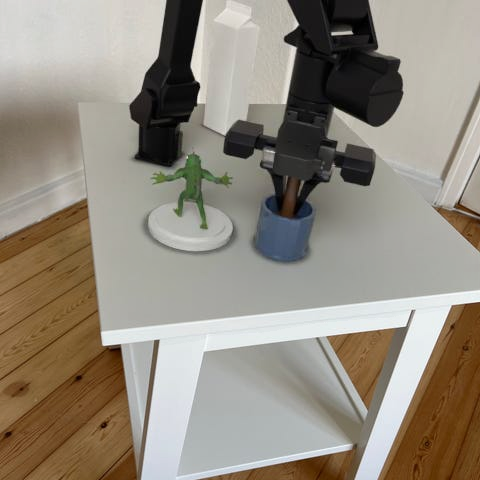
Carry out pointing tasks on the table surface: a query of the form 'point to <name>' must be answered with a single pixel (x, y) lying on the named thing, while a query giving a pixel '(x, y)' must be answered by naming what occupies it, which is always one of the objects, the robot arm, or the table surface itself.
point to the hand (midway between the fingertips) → (287, 211)
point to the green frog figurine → (190, 212)
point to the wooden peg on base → (290, 198)
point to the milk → (230, 67)
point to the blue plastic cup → (283, 231)
